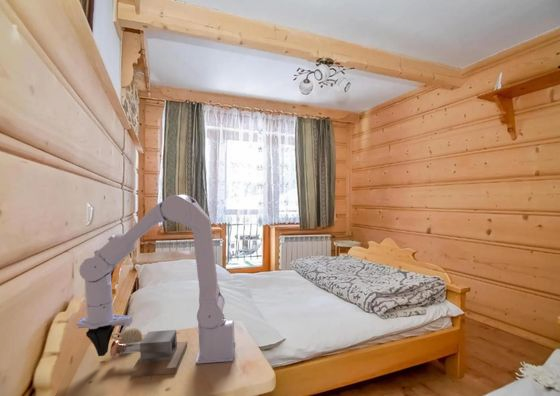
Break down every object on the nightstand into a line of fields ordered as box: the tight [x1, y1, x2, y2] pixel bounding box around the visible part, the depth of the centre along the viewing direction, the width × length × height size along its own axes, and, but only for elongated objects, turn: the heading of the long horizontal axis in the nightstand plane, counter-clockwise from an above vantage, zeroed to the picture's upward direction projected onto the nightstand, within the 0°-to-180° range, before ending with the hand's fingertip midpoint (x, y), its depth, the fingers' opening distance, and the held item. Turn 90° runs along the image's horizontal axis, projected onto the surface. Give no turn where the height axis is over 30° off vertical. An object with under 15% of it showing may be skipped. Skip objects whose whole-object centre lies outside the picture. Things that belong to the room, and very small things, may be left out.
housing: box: [130, 329, 188, 378], centre depth 78 cm, size 10×12×6 cm
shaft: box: [109, 339, 141, 359], centre depth 78 cm, size 11×4×4 cm, turn 94°
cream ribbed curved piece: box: [111, 327, 144, 343], centre depth 85 cm, size 4×8×5 cm, turn 128°
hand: (103, 353), depth 77 cm, fingers closed
